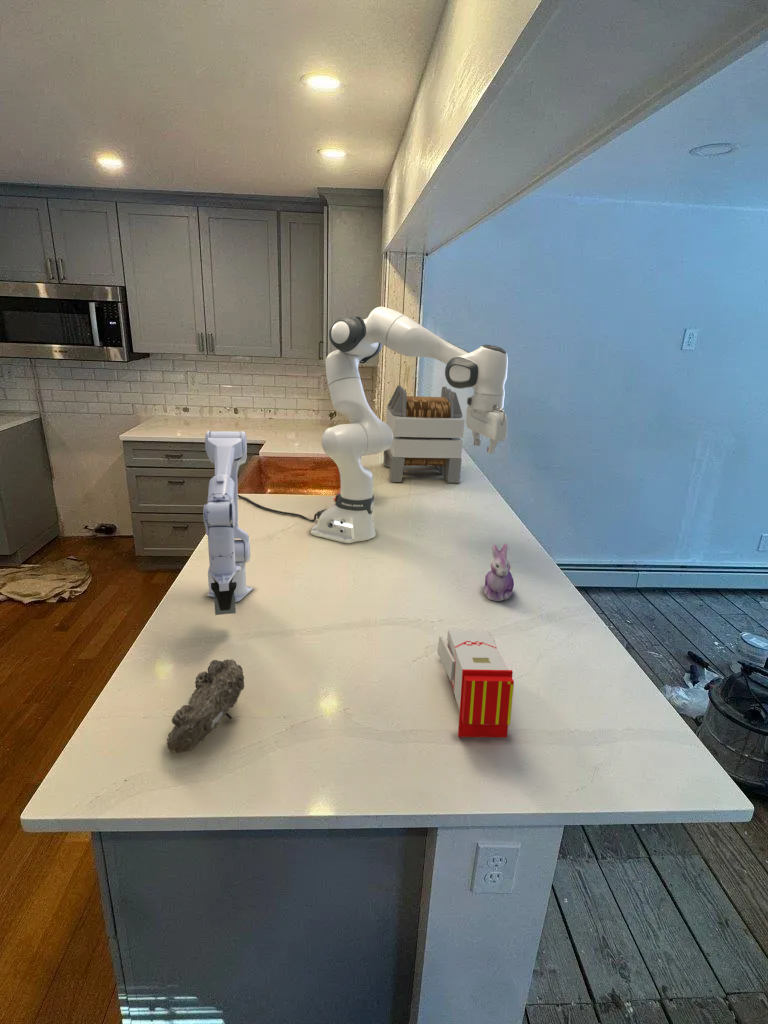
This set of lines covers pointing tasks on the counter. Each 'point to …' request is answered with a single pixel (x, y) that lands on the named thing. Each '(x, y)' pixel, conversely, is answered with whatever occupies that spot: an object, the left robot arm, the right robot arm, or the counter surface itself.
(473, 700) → the toy
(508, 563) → the figurine
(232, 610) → the block
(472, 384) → the right robot arm
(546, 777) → the counter surface
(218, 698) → the fossil
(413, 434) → the transformer
